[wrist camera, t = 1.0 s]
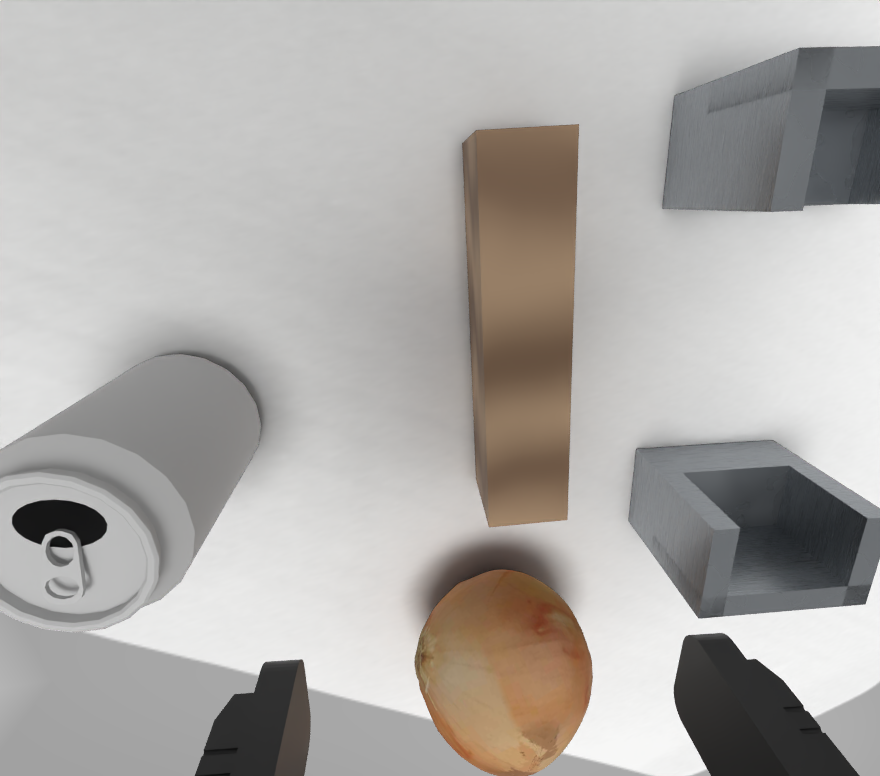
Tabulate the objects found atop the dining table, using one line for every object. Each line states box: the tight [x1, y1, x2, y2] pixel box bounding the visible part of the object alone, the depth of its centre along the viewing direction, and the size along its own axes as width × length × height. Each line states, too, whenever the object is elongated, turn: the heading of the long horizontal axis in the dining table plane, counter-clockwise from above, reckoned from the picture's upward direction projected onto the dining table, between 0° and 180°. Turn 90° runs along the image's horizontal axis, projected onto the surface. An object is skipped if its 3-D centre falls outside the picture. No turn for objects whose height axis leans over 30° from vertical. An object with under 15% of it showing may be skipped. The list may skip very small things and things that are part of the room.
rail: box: [462, 124, 579, 527], centre depth 25 cm, size 18×4×5 cm, turn 3°
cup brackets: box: [629, 46, 880, 618], centre depth 25 cm, size 23×8×8 cm, turn 2°
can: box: [0, 354, 261, 632], centre depth 22 cm, size 8×8×12 cm
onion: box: [415, 569, 593, 776], centre depth 29 cm, size 10×10×10 cm
